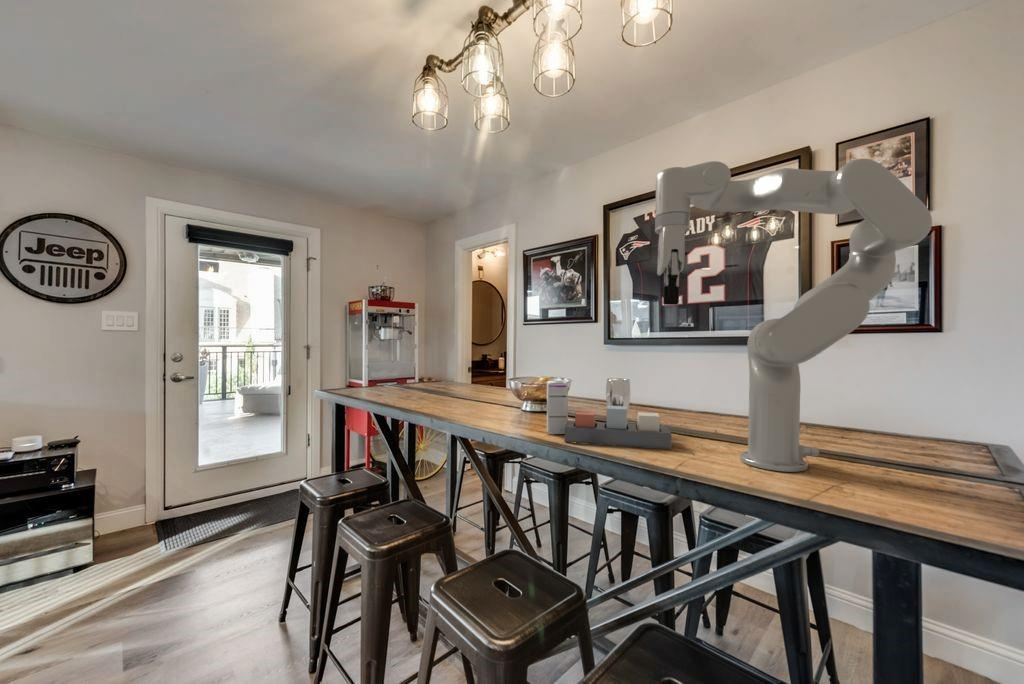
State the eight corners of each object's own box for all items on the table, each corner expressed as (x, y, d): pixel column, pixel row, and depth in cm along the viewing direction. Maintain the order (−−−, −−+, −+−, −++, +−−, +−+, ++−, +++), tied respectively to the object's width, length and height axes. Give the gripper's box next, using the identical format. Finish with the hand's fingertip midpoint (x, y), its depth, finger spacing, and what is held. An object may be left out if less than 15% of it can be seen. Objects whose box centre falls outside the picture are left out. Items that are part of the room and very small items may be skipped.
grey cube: (606, 424, 115) (606, 405, 115) (625, 425, 113) (626, 406, 113) (606, 427, 110) (606, 408, 110) (626, 429, 109) (626, 409, 108)
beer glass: (632, 433, 122) (633, 380, 122) (608, 432, 122) (608, 380, 122) (626, 427, 129) (627, 378, 129) (603, 427, 129) (604, 378, 129)
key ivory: (637, 431, 113) (637, 412, 113) (657, 432, 112) (657, 413, 112) (638, 435, 108) (638, 415, 108) (659, 436, 107) (659, 416, 107)
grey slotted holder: (567, 434, 119) (568, 420, 119) (666, 441, 113) (666, 426, 113) (564, 442, 110) (564, 427, 110) (671, 449, 104) (671, 433, 104)
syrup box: (568, 434, 119) (569, 382, 119) (547, 434, 119) (547, 382, 119) (566, 430, 125) (566, 380, 124) (545, 430, 125) (546, 380, 125)
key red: (576, 429, 116) (576, 410, 116) (595, 430, 115) (595, 411, 115) (575, 433, 112) (575, 414, 111) (594, 434, 110) (594, 415, 110)
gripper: (652, 233, 107) (650, 306, 107) (658, 216, 92) (657, 301, 92) (684, 231, 105) (682, 306, 105) (695, 214, 90) (694, 301, 91)
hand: (670, 304), depth 99 cm, fingers closed
